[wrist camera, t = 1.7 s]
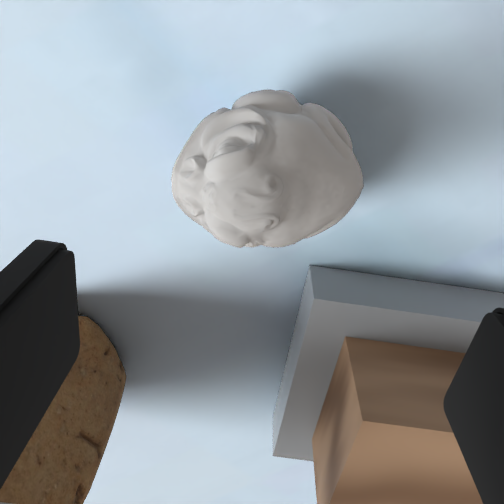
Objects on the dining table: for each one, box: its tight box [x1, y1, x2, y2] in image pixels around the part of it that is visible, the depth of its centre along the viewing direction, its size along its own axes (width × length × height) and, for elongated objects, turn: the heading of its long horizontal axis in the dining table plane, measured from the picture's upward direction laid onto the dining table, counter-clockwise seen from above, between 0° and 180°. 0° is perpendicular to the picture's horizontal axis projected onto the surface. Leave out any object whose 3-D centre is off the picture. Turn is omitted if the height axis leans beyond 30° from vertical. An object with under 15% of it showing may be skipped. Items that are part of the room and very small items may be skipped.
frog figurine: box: [171, 90, 363, 248], centre depth 17 cm, size 6×7×7 cm
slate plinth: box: [273, 265, 504, 461], centre depth 25 cm, size 12×12×3 cm
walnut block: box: [312, 337, 483, 504], centre depth 22 cm, size 8×8×5 cm
